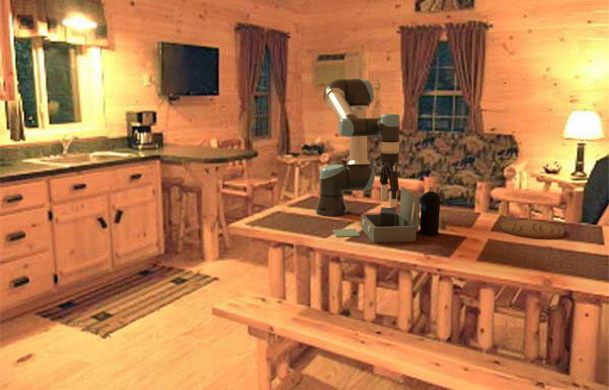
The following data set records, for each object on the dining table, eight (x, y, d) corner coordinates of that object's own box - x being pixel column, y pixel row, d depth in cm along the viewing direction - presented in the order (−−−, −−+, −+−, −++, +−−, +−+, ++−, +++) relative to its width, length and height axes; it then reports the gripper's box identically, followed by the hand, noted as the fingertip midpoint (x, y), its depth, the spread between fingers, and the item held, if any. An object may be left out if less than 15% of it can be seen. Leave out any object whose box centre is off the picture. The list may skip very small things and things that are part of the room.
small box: (394, 238, 210) (395, 213, 208) (378, 237, 212) (379, 212, 210) (395, 231, 221) (396, 207, 218) (380, 230, 222) (380, 206, 220)
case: (359, 227, 226) (360, 187, 222) (401, 226, 228) (402, 186, 224) (372, 242, 204) (373, 198, 201) (417, 240, 206) (419, 197, 203)
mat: (332, 230, 221) (332, 229, 221) (355, 229, 223) (355, 228, 222) (336, 237, 212) (336, 236, 212) (360, 236, 213) (360, 235, 213)
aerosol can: (439, 231, 220) (442, 185, 216) (438, 236, 212) (440, 189, 208) (420, 229, 222) (422, 184, 218) (418, 234, 215) (420, 188, 211)
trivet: (500, 236, 213) (501, 232, 213) (500, 222, 236) (500, 218, 236) (567, 242, 205) (568, 238, 204) (560, 226, 228) (561, 222, 227)
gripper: (373, 149, 221) (372, 197, 225) (389, 156, 196) (387, 210, 200) (390, 148, 222) (388, 197, 226) (408, 155, 197) (406, 209, 201)
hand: (388, 203), depth 213 cm, fingers open, 13 cm apart
